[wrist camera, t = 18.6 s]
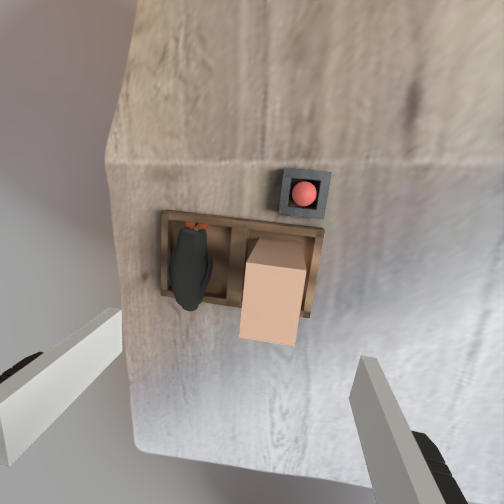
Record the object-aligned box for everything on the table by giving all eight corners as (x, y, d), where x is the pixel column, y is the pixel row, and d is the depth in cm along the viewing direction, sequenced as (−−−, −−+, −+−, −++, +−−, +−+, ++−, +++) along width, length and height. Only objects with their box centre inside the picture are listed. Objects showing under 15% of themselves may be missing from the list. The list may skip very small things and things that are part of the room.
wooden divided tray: (168, 209, 48) (161, 211, 45) (322, 227, 45) (324, 230, 42) (167, 290, 52) (160, 295, 49) (308, 311, 49) (309, 318, 46)
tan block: (259, 237, 46) (246, 262, 31) (301, 242, 45) (306, 270, 31) (254, 291, 48) (239, 337, 34) (293, 296, 48) (294, 346, 33)
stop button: (293, 180, 43) (293, 180, 40) (316, 182, 43) (318, 182, 40) (290, 203, 44) (290, 204, 41) (312, 205, 44) (314, 207, 41)
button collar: (284, 168, 43) (284, 167, 40) (328, 172, 42) (331, 172, 39) (279, 212, 45) (278, 214, 42) (321, 216, 44) (323, 219, 41)
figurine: (184, 220, 48) (175, 303, 49) (158, 217, 38) (148, 320, 39) (224, 225, 47) (215, 309, 48) (209, 224, 37) (197, 329, 38)
